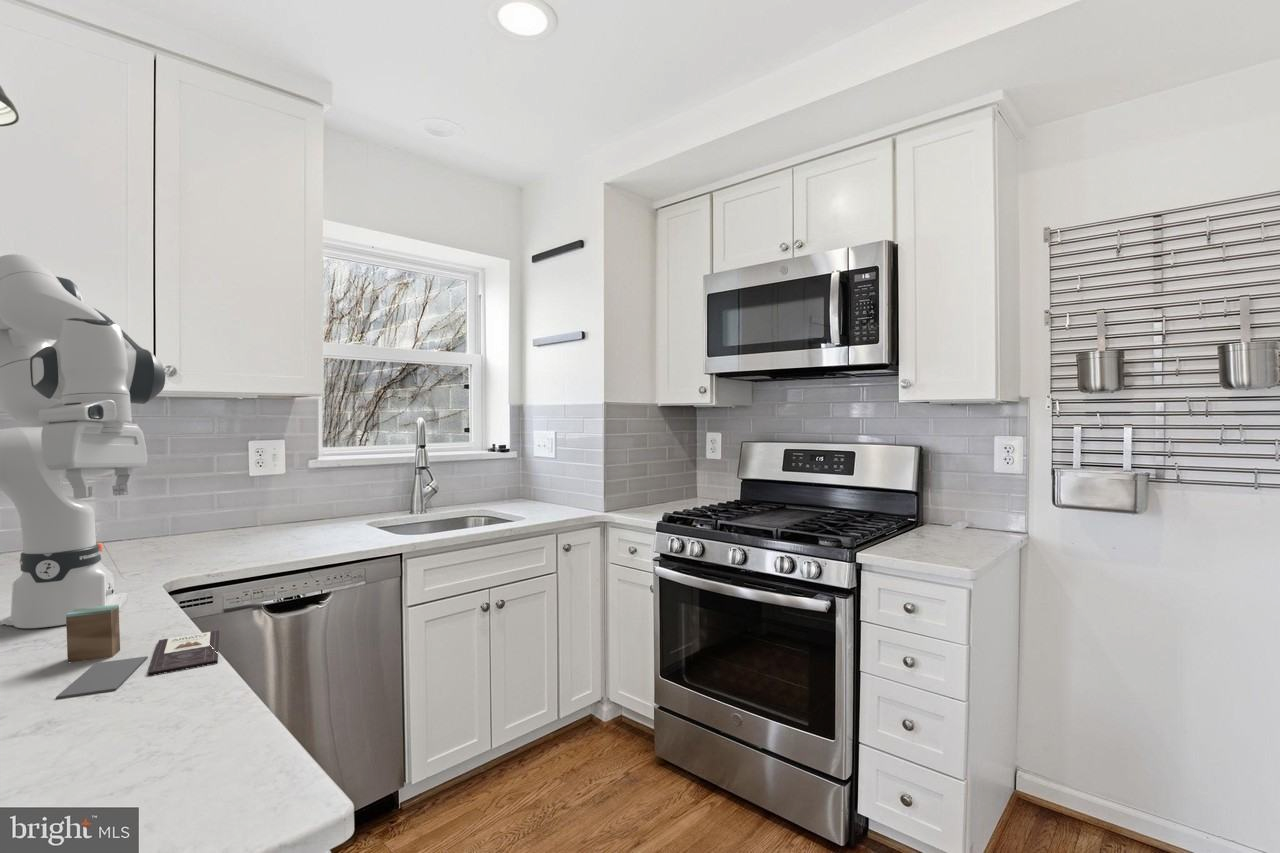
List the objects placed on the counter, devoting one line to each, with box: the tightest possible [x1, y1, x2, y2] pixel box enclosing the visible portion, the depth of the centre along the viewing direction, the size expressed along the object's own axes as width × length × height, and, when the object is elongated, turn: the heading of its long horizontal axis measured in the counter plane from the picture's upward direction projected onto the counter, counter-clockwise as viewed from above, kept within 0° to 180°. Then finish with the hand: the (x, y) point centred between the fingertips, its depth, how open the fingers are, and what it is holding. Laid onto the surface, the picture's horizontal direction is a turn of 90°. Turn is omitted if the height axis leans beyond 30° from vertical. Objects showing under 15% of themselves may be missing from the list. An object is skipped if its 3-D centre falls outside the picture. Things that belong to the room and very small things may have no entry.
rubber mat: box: [55, 655, 149, 700], centre depth 101 cm, size 14×7×1 cm, turn 22°
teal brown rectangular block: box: [65, 604, 121, 664], centre depth 110 cm, size 4×6×8 cm, turn 112°
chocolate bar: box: [147, 630, 220, 677], centre depth 111 cm, size 9×1×18 cm
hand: (103, 496), depth 108 cm, fingers open, 8 cm apart
